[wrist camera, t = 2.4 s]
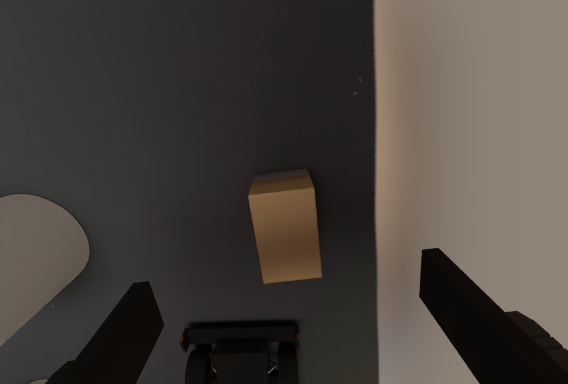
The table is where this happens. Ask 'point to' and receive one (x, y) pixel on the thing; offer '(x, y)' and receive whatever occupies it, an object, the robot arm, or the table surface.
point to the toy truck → (240, 355)
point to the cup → (35, 257)
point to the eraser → (285, 225)
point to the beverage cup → (39, 381)
